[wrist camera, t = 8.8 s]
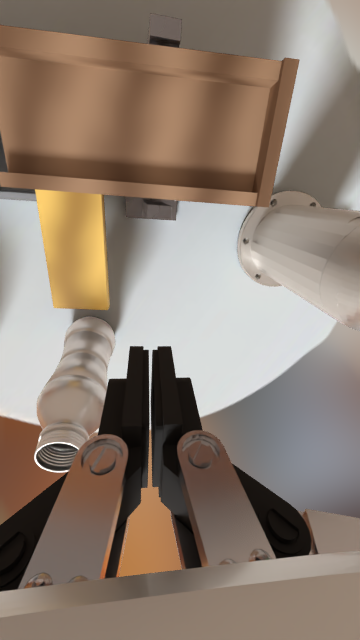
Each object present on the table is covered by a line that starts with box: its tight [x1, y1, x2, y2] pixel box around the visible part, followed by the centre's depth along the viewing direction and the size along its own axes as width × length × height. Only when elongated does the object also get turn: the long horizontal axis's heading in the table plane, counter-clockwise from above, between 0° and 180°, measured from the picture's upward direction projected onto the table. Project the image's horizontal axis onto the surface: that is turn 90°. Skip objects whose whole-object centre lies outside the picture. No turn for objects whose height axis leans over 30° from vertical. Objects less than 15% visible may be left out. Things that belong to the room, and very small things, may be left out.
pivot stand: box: [125, 13, 182, 220], centre depth 24 cm, size 6×14×11 cm, turn 176°
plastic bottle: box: [34, 317, 115, 472], centre depth 29 cm, size 6×7×20 cm
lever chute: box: [0, 25, 299, 310], centre depth 23 cm, size 21×19×6 cm
